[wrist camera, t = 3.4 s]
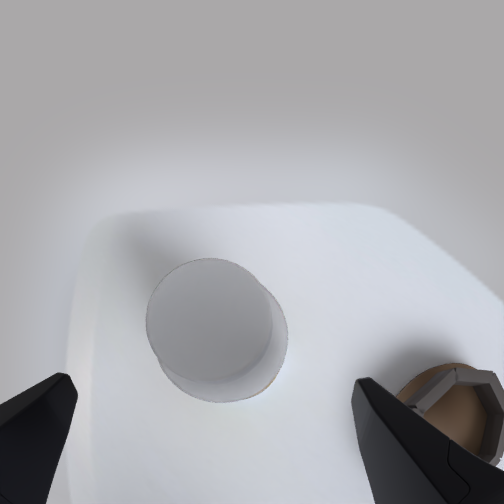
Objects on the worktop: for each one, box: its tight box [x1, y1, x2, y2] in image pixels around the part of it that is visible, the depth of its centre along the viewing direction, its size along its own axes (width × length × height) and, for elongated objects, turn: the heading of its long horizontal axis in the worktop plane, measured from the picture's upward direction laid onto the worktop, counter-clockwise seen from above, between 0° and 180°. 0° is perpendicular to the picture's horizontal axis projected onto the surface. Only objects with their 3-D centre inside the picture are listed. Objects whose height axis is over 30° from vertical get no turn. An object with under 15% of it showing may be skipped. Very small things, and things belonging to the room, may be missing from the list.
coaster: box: [396, 363, 504, 466], centre depth 13 cm, size 10×10×3 cm
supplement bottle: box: [146, 258, 288, 403], centre depth 13 cm, size 5×5×10 cm
